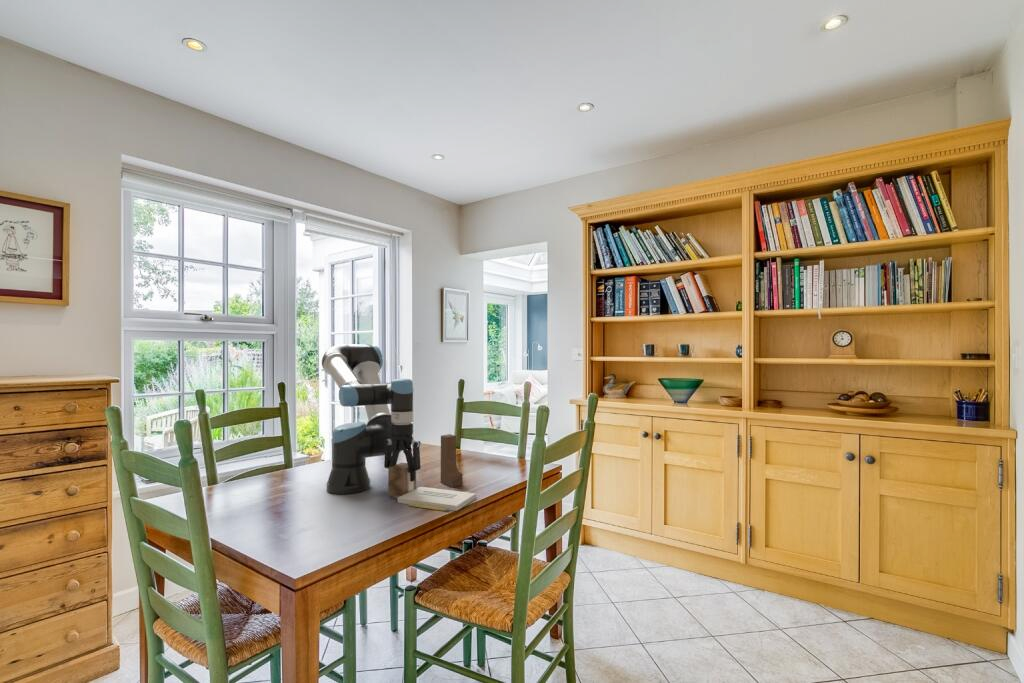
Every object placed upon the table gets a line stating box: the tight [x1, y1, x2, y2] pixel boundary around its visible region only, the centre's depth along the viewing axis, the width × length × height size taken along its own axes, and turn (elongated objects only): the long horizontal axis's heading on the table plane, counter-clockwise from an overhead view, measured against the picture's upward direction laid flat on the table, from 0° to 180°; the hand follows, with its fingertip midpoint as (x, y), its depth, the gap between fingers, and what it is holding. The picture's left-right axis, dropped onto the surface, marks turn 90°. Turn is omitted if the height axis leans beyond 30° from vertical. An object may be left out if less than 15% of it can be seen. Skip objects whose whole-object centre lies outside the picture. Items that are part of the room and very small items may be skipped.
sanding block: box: [387, 462, 417, 499], centre depth 171 cm, size 6×8×10 cm
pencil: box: [408, 504, 450, 512], centre depth 156 cm, size 14×1×1 cm, turn 69°
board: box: [397, 486, 477, 512], centre depth 165 cm, size 22×14×2 cm, turn 69°
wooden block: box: [440, 433, 463, 488], centre depth 184 cm, size 9×4×18 cm, turn 38°
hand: (402, 489), depth 171 cm, fingers closed on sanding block, 6 cm apart
